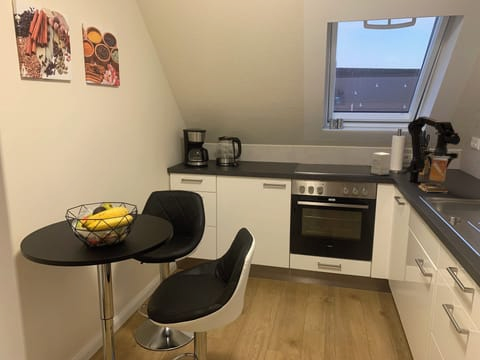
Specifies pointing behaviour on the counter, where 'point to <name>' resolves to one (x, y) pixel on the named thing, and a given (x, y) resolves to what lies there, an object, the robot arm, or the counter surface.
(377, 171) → the supplement box
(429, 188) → the wooden tray
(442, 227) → the counter surface
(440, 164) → the small box
